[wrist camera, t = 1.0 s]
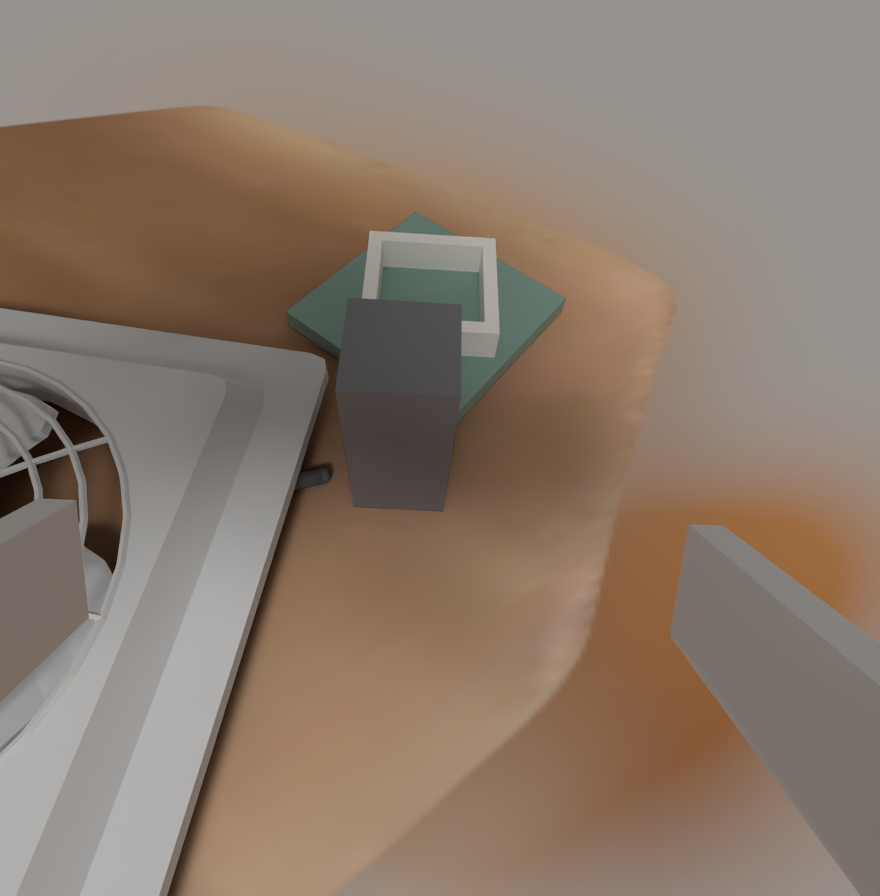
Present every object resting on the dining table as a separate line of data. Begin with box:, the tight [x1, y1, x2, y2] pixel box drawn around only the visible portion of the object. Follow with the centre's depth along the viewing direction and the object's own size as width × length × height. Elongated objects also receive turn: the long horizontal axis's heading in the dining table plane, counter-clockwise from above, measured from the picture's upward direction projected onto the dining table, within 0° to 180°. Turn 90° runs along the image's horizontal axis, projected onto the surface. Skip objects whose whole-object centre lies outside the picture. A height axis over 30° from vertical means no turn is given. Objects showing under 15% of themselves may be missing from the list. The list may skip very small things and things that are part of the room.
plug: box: [335, 298, 462, 511], centre depth 26 cm, size 4×5×10 cm
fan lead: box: [294, 468, 331, 490], centre depth 29 cm, size 9×1×1 cm, turn 107°
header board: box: [286, 212, 566, 423], centre depth 34 cm, size 12×12×3 cm
